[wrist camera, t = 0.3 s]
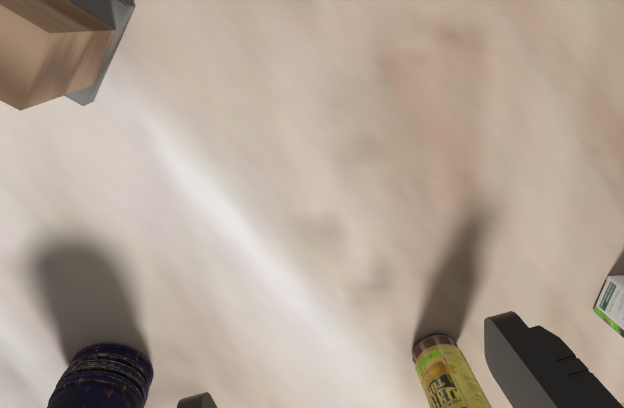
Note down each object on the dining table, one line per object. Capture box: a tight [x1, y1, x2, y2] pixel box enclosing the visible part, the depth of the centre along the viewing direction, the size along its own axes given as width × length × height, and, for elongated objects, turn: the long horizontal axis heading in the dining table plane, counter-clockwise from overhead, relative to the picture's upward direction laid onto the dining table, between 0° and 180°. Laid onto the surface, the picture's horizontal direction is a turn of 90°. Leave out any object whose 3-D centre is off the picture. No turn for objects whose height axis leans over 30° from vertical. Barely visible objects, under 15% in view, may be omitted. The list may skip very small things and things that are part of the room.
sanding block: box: [0, 0, 135, 111], centre depth 26 cm, size 9×5×12 cm, turn 146°
